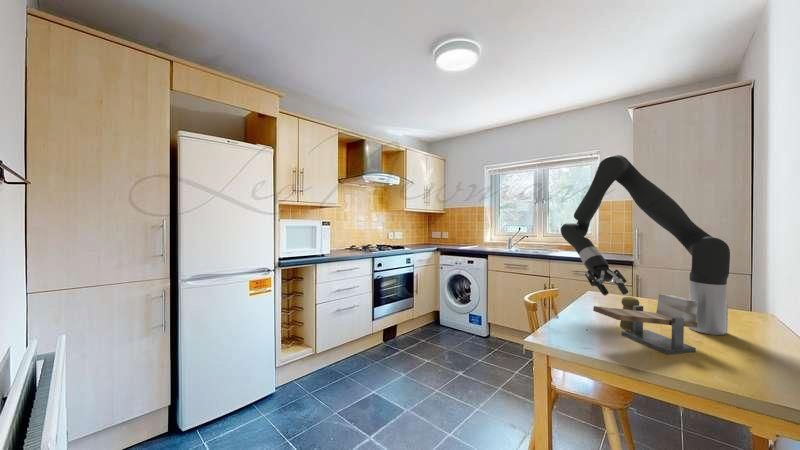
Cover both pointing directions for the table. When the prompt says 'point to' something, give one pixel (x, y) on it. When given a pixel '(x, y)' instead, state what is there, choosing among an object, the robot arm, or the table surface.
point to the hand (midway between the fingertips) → (616, 294)
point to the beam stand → (661, 337)
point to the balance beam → (658, 312)
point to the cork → (628, 305)
